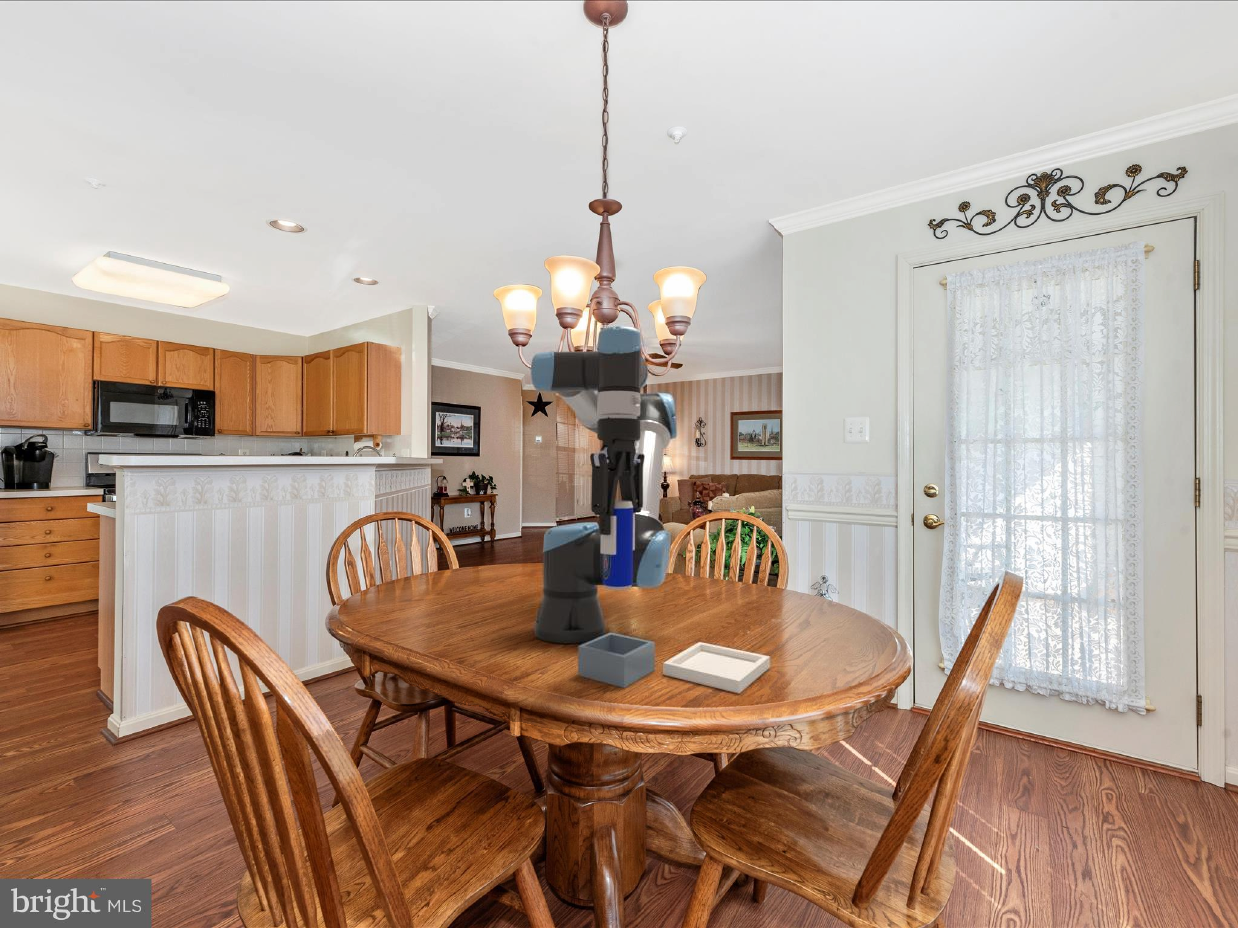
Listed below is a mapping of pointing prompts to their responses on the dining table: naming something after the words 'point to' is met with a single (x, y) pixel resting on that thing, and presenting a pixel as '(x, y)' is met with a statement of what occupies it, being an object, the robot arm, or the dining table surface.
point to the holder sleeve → (616, 659)
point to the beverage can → (620, 550)
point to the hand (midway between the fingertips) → (617, 551)
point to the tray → (717, 666)
